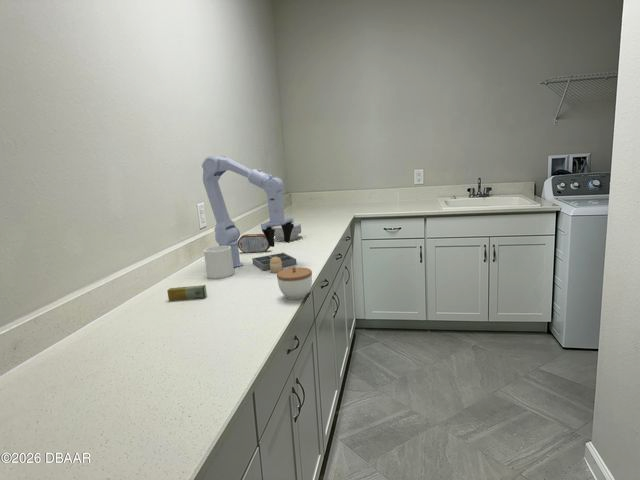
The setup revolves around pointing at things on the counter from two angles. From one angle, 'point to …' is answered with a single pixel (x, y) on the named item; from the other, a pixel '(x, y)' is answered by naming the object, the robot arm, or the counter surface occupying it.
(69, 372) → the counter surface
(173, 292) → the medication box
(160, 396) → the counter surface
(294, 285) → the lidded jar
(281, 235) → the paper bowls
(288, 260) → the grey compartment tray
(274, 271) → the egg
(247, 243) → the tin
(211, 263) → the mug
